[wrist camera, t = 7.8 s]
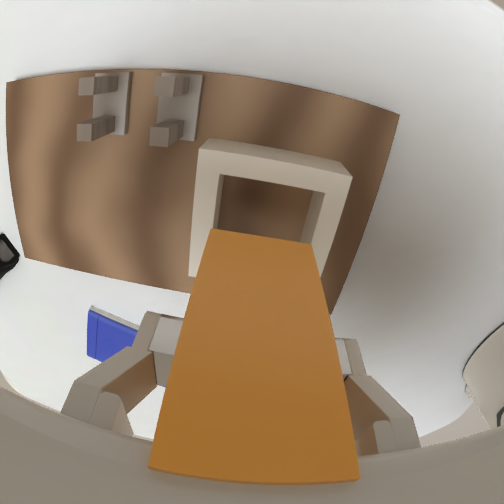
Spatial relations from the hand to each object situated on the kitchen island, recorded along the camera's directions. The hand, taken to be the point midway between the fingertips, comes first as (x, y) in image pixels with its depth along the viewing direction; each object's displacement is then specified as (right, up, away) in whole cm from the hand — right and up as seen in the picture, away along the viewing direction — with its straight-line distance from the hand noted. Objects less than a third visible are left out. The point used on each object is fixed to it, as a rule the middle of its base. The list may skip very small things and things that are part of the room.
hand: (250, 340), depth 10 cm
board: (-6, +8, +10) cm, 14 cm away
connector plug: (0, +2, +3) cm, 4 cm away
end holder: (+1, +6, +10) cm, 11 cm away
